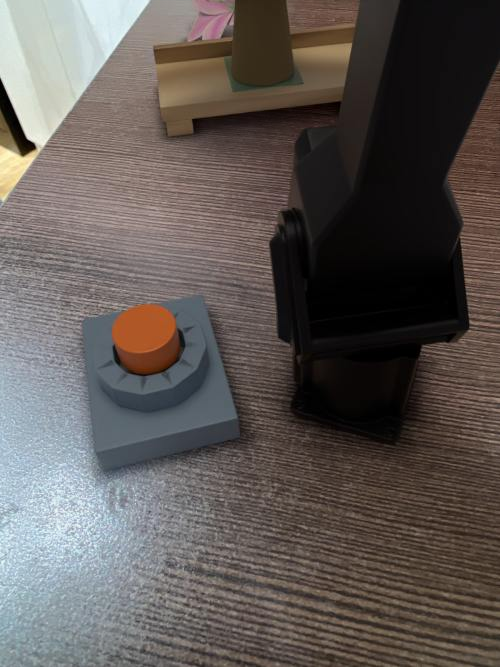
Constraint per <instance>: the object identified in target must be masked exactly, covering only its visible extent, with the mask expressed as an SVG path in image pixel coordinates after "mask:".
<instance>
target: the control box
mask: <svg viewBox="0 0 500 667" xmlns="http://www.w3.org/2000/svg"><path fill="white" fill-rule="evenodd" d="M152 304H153V305H158V306H161V307H164V308H166V309H167V310H169V311H170V312H171V313H172V315H173V316H174V318H175V320H176V324H177V329H178V334H179V339H180V344H181V350H180V354H179V356H178V358H177V360H176V361H175V362H174V363H173V364H172V365H171V366H170V367H169V368H167V369H166V370H164V371H162V372H159V373H156V374H151V375H141V374H136V373H133V372H131V371H129V370H128V369H126V368H125V367H124V366H123V365H122V363H121V361H120V359H119V356H118V353H117V350H116V347H115V344H114V341H113V338H112V328H113V325H114V322H115V321H116V319H117V318H118V317H119V316H120V315H121V314H122V313H123V312H125V311H126V310H127V309H126V310H120V311H116V312H112V313H107V314H103V315H98V316H92V317H88V318H84V319H81V329H82V340H83V349H84V350H83V351H84V358H85V370H86V379H87V388H88V398H89V408H90V418H91V428H92V437H93V438H92V439H93V447H94V454H95V456H96V458H97V460H98V462H99V463H100V466H101V468H102V469H103V471H104V472H106V471H110V470H114V469H118V468H124V467H126V466H131V465H135V464H139V463H143V462H147V461H151V460H155V459H158V458H159V459H160V458H163V457H167V456H171V455H175V454H178V453H183V452H187V451H191V450H196V449H199V448H203V447H208V446H211V445H215V444H219V443H224V442H227V441H231V440H235V439H239V438H241V429H240V420H239V415H238V412H237V407H236V405H235V402H234V397H233V395H232V391H231V387H230V384H229V381H228V377H227V374H226V370H225V367H224V363H223V359H222V356H221V353H220V348H219V345H218V343H217V342H218V341H217V338H216V335H215V332H214V328H213V325H212V321H211V317H210V315H209V311H208V308H207V305H206V301H205V297H204V295H203V294H202V293H200V294H196V295H192V296H186V297H182V298H177V299H172V300H168V301H163V302H159V303H152Z"/></svg>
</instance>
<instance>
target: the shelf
mask: <svg viewBox="0 0 500 667" xmlns="http://www.w3.org/2000/svg"><path fill="white" fill-rule="evenodd" d="M355 26H356V23H345V24H338V25H337V24H336V25H328V26H320V27H319V26H318V27H308V28H301V29H290V35H291V44H292V52H293V60H294V73H293V75H292V76H291V77H290V78H289V79H287V80H285V81H283V82H281V83H277V84H274V85H267V86H252V85H247V84H243V83H241V82H239V81H236V80H235V79H234V78H233V77H232V75H231V58H232V41H233V36H228V37H220V38H218V39H209V40H202V39H201V40H199V39H198V40H193V41H190V42H188V41H183V42H174V43H164V44H163V43H162V44H157V45H156V44H155V45H152V51H153V56H154V61H155V62H154V63H155V72H156V80H157V81H156V82H157V91H158V101H159V110H160V115H161V122H162V123H165V124H166V131H167V136H168V137H170V138H171V137H178V136H179V137H180V136H186V135H194V133H195V132H194V123H193V119H201V118H202V119H203V118H210V117H218V116H228V115H235V114H236V115H237V114H243V113H253V112H261V111H270V110H278V109H286V108H295V107H303V106H310V105H311V106H312V105H320V104H329V103H337V102H338V103H339V102H340V103H341V101H342V96H343V91H344V85H345V80H346V74H347V69H348V64H349V58H350V53H351V47H352V42H353V36H354V31H355Z"/></svg>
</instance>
